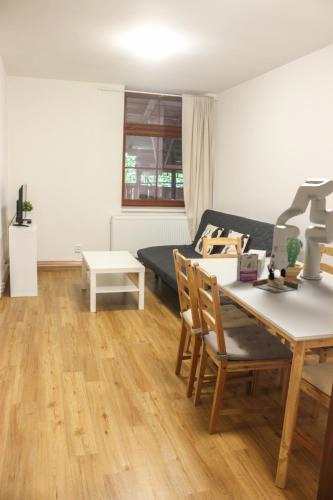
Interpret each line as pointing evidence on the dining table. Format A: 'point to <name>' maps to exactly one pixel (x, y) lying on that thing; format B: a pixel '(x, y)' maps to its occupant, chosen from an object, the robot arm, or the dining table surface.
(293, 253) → the potted cactus
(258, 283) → the corner arena
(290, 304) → the dining table surface
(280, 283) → the maple block
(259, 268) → the stack of papers
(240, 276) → the candy bar box
